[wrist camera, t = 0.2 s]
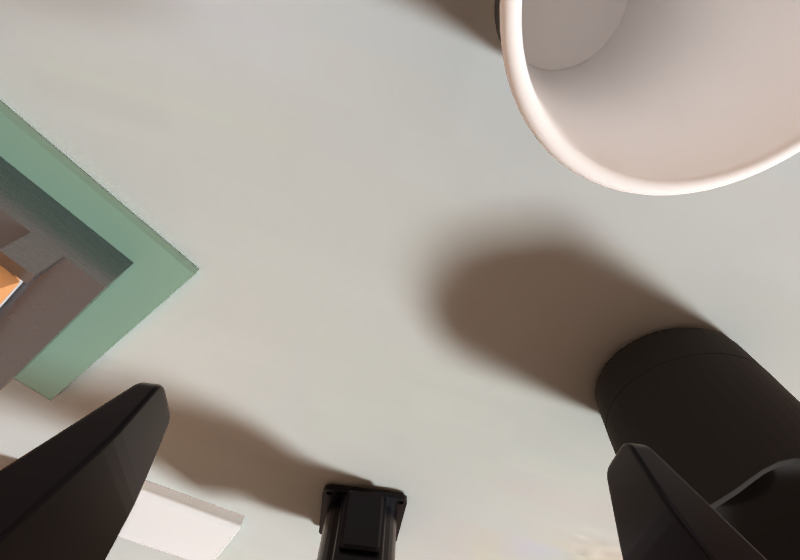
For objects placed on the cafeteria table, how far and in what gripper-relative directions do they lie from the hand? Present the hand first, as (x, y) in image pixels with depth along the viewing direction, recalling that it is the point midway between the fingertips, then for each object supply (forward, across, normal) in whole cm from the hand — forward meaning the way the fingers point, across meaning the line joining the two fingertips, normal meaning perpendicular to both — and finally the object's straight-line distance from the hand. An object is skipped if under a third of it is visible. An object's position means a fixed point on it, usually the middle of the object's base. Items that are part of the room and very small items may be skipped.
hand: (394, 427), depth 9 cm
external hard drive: (+15, +17, +32) cm, 39 cm away
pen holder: (+15, -17, +10) cm, 25 cm away
